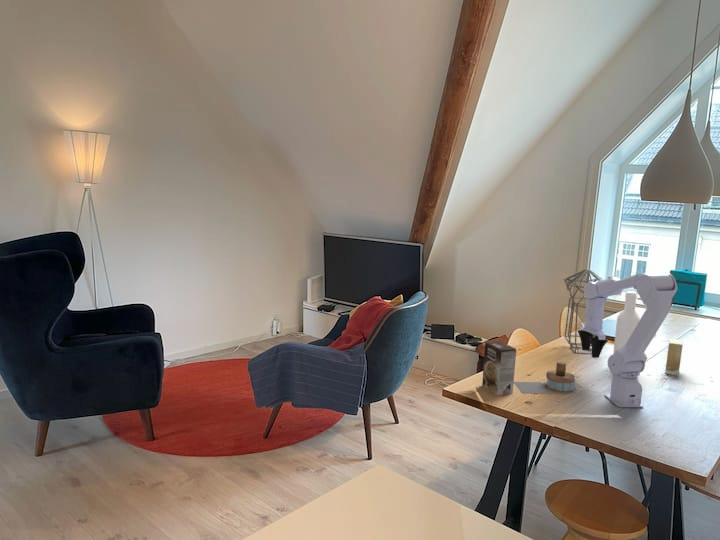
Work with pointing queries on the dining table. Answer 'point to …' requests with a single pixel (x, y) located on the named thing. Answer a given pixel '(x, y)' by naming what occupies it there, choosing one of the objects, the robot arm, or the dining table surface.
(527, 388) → the plate
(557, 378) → the lid
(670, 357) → the skincare box
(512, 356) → the coffee box
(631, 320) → the bottle
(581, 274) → the geometric lantern
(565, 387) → the bowl
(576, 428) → the dining table surface
